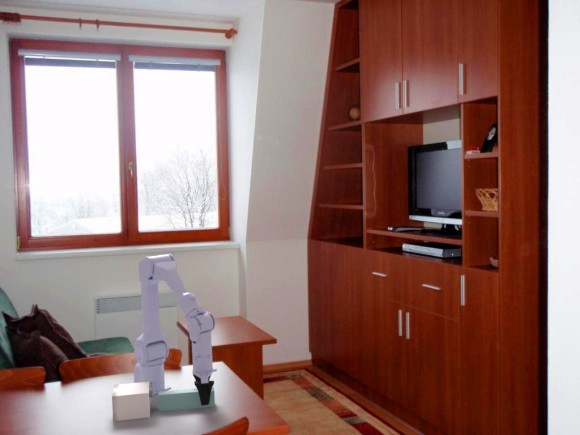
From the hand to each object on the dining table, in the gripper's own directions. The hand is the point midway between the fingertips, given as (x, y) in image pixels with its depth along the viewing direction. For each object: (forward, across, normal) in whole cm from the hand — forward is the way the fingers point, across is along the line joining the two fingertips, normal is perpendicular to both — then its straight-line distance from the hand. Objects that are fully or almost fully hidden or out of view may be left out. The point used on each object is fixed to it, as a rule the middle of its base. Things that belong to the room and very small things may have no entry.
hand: (204, 400), depth 186 cm
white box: (+1, 0, +20) cm, 21 cm away
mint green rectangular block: (+2, 0, +5) cm, 5 cm away
